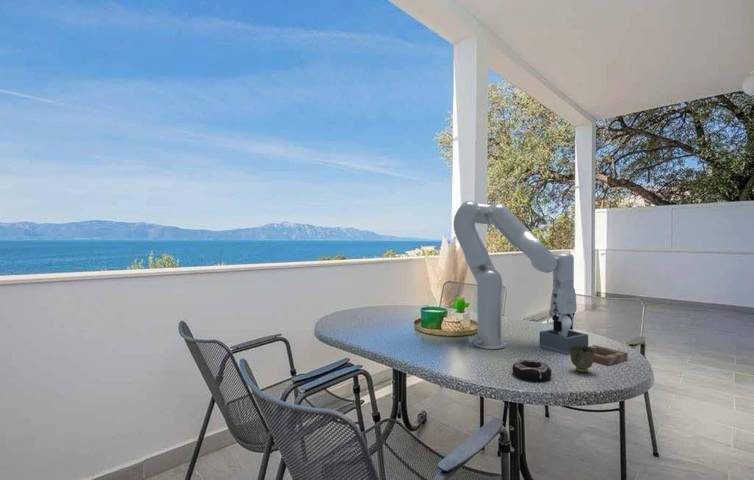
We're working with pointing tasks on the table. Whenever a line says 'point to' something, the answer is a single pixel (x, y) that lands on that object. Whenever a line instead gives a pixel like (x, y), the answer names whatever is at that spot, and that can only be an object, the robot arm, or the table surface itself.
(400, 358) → the table surface
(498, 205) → the robot arm
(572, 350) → the cup
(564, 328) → the lightbulb
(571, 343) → the grey open box
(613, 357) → the socket block
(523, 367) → the donut
